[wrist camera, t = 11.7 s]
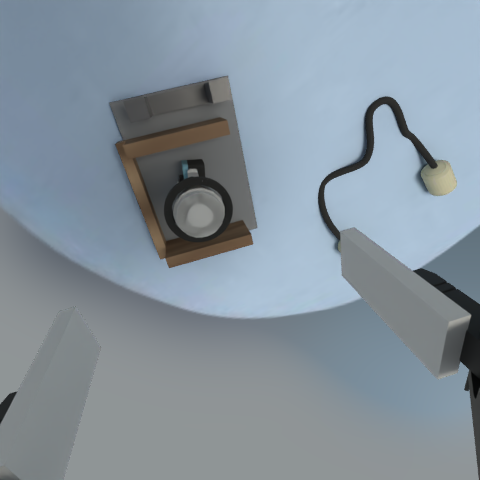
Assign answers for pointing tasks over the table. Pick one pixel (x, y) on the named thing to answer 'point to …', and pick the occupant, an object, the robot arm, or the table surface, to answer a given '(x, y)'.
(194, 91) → the grey notched block
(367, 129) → the cable
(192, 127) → the holder
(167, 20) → the table surface
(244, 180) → the mat
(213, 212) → the push button
